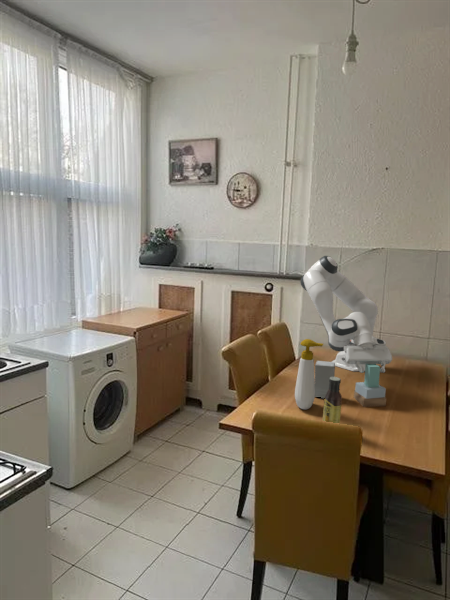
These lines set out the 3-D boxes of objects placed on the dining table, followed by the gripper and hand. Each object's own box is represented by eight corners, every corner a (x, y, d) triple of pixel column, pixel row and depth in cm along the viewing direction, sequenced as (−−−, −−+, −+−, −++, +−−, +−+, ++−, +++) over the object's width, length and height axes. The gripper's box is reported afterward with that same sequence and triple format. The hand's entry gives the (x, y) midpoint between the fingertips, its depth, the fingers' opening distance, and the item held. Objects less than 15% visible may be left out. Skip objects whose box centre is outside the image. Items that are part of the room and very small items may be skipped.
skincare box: (333, 395, 198) (336, 361, 195) (332, 400, 191) (334, 366, 189) (314, 392, 201) (317, 359, 198) (312, 398, 194) (315, 363, 191)
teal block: (364, 383, 192) (365, 363, 191) (374, 383, 192) (375, 363, 191) (368, 387, 188) (370, 366, 186) (378, 387, 188) (380, 366, 187)
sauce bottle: (319, 425, 166) (323, 375, 163) (335, 425, 166) (339, 375, 163) (325, 433, 159) (328, 380, 156) (341, 433, 160) (345, 381, 157)
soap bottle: (319, 414, 176) (324, 344, 172) (293, 411, 178) (297, 342, 174) (318, 402, 189) (323, 336, 184) (294, 400, 191) (298, 335, 186)
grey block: (355, 391, 194) (355, 382, 193) (373, 390, 196) (373, 381, 196) (366, 398, 185) (367, 389, 185) (384, 397, 188) (385, 388, 187)
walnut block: (353, 398, 196) (354, 390, 195) (374, 398, 197) (375, 389, 196) (363, 407, 186) (364, 398, 185) (385, 407, 187) (386, 398, 187)
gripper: (344, 340, 193) (352, 368, 185) (388, 340, 195) (397, 368, 187) (340, 347, 198) (347, 375, 190) (383, 347, 200) (391, 375, 192)
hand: (372, 372), depth 188 cm, fingers open, 8 cm apart
